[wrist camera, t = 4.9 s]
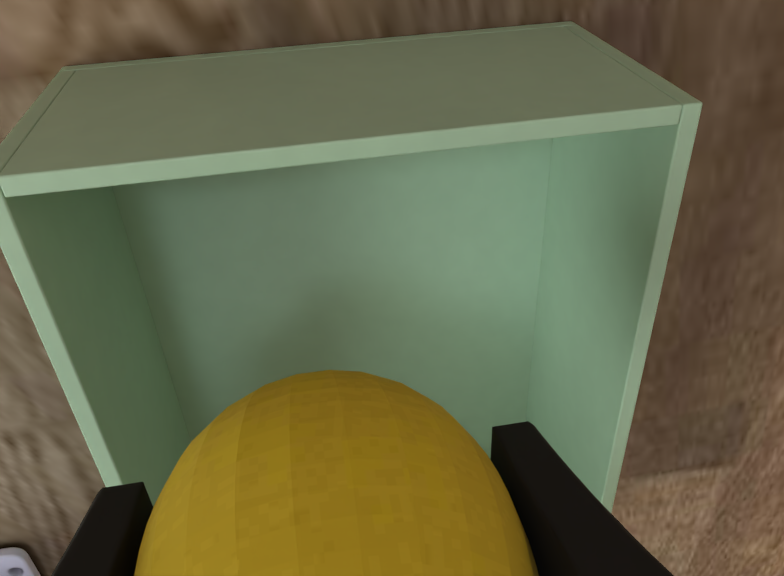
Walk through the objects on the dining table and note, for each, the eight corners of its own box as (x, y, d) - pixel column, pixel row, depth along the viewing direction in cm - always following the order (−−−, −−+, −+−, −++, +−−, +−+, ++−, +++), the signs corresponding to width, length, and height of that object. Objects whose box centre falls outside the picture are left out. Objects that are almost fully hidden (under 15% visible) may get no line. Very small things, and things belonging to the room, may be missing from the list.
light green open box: (527, 456, 27) (591, 606, 22) (204, 509, 26) (190, 681, 21) (571, 20, 18) (704, 102, 12) (62, 66, 16) (-31, 180, 11)
